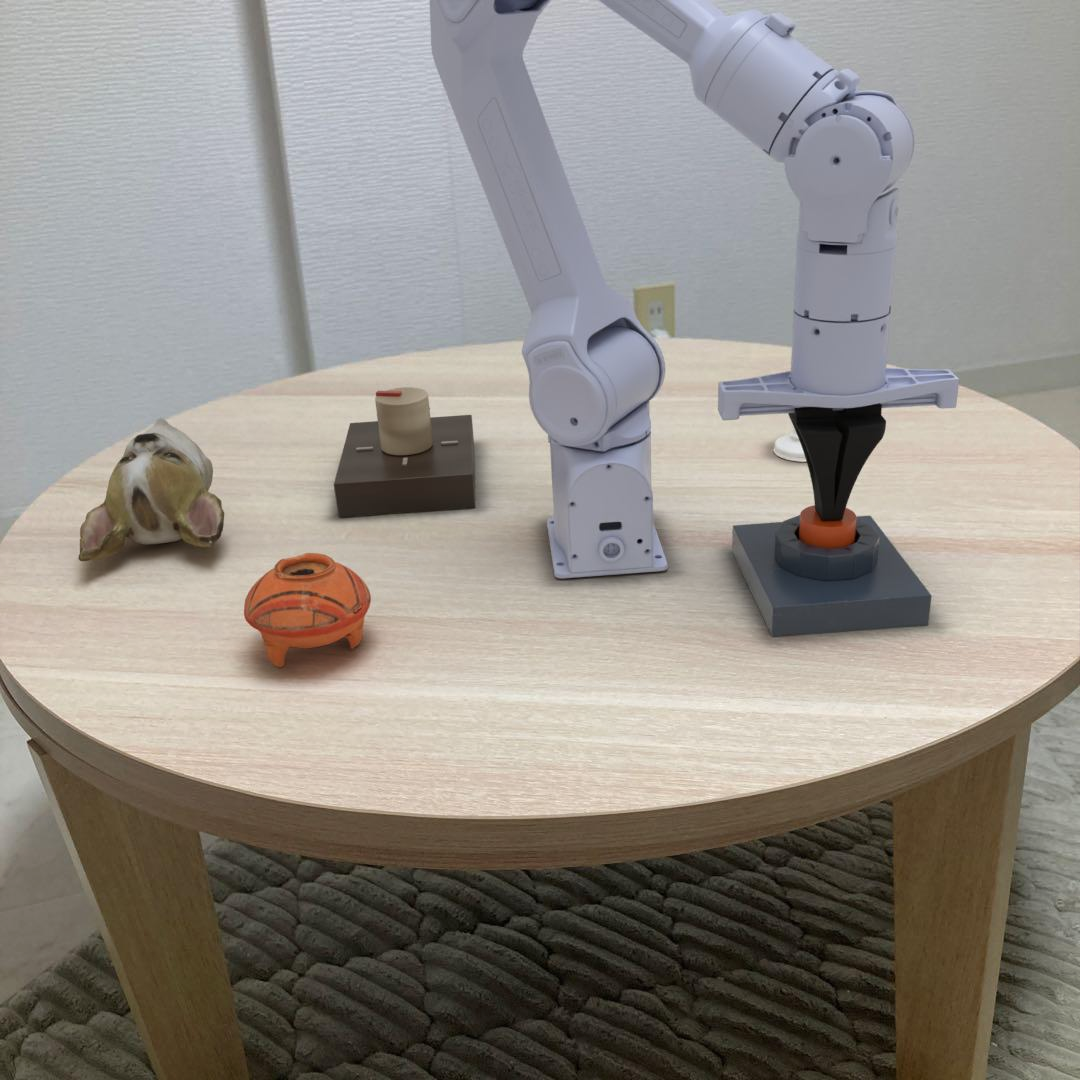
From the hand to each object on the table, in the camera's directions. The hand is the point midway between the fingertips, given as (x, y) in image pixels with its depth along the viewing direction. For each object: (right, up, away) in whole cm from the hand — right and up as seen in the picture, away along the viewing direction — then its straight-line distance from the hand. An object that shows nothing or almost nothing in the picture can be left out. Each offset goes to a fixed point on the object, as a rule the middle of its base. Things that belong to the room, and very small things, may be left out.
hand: (828, 514), depth 75 cm
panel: (-30, +4, +23) cm, 38 cm away
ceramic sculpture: (-48, -1, +15) cm, 51 cm away
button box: (0, -5, +2) cm, 5 cm away
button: (0, -2, +1) cm, 2 cm away
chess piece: (+4, +6, +24) cm, 25 cm away
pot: (-33, -9, -1) cm, 35 cm away
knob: (-30, +6, +22) cm, 38 cm away
